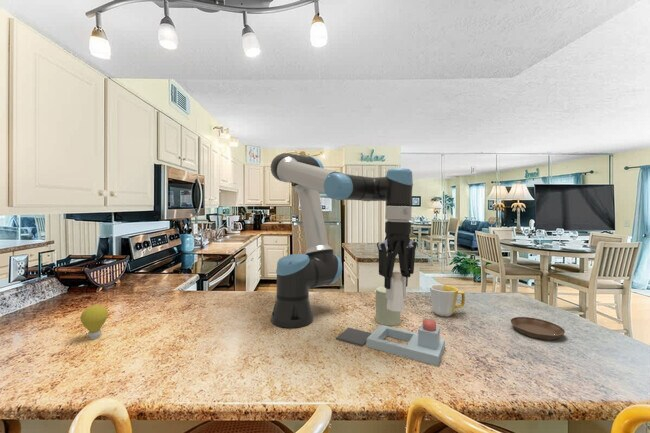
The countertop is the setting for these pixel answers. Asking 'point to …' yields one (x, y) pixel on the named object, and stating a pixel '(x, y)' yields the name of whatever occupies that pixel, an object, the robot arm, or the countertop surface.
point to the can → (385, 309)
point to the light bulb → (94, 320)
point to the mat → (354, 336)
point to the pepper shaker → (396, 294)
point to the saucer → (537, 328)
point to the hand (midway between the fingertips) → (395, 298)
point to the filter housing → (409, 343)
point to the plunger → (429, 325)
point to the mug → (445, 299)
